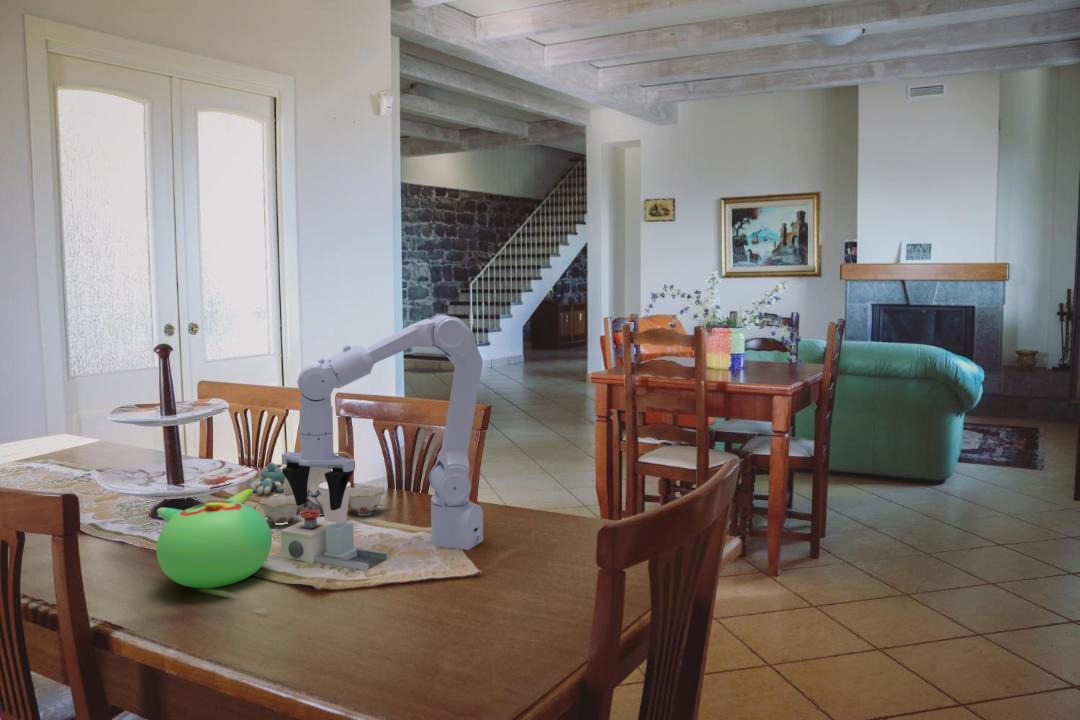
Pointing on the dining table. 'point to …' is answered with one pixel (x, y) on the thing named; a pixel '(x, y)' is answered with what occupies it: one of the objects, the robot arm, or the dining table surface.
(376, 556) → the rail
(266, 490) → the stuffed animal
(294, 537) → the end cabinet
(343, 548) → the carriage
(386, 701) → the dining table surface
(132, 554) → the dining table surface
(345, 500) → the smoothie
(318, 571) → the dining table surface
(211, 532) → the green rounded blob
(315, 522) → the red push button
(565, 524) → the dining table surface
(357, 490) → the chinaware
